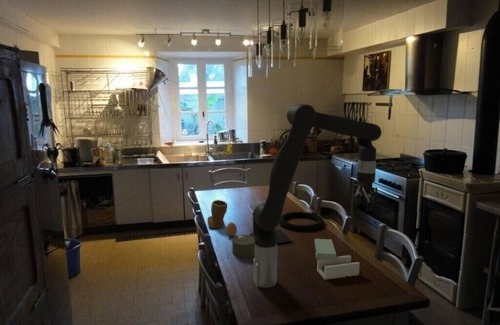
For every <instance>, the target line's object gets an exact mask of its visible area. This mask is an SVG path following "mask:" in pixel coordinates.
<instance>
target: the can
mask: <svg viewBox="0 0 500 325" xmlns="http://www.w3.org/2000/svg"><path fill="white" fill-rule="evenodd" d="M231 243H232V246H231V247H232V248H231V249H232V255H233V256H235V257H236V256H237V258H240V257H242V259H244V258H245V259H246V258H247V257H248V258H252V257H255V240H254V235H248V234H240V235H236V236H233V237H232V239H231Z"/></svg>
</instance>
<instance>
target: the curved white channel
mask: <svg viewBox="0 0 500 325" xmlns="http://www.w3.org/2000/svg"><path fill="white" fill-rule="evenodd" d="M316 262H317V263H316V264H317V266H316V271H317V272H318V274H320V276H321V277H322V278H323V279H324V280H331V279H339V278H340V279H341V278H347V277H346V276H348V277H353V276H354V277H355V276H359V275H360V264H361V263H360V262H359V261H357V262H352V256H351V255H340V256H336V259H316Z"/></svg>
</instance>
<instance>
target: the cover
mask: <svg viewBox="0 0 500 325" xmlns="http://www.w3.org/2000/svg"><path fill="white" fill-rule="evenodd" d="M314 248H315V258H314V259H316V260H317V259H336V257H337V252H336V249H335V246H334V243H333V239H327V238H314Z"/></svg>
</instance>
